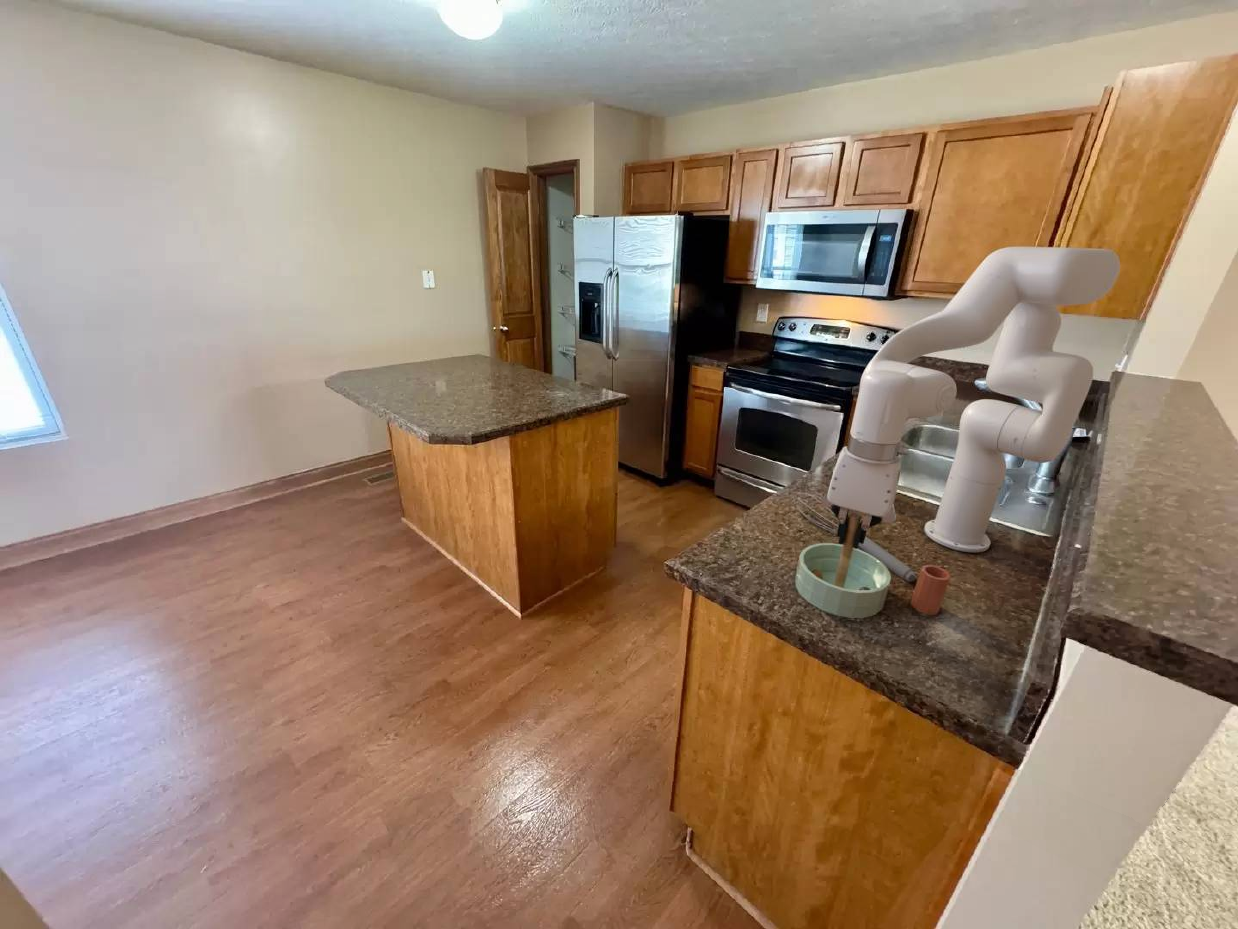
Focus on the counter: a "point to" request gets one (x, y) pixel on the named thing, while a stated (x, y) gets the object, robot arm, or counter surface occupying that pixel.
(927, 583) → the utensil pot
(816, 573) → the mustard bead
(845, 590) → the mixing bowl
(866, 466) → the robot arm
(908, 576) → the kitchen whisk
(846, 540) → the stirring stick
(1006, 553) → the counter surface
